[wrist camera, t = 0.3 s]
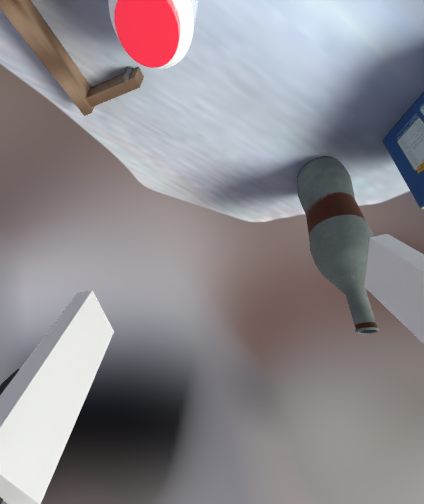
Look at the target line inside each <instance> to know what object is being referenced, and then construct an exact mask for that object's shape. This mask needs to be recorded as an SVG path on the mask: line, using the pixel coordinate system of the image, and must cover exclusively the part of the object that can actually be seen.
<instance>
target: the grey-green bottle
mask: <svg viewBox="0 0 424 504" xmlns="http://www.w3.org/2000/svg"><path fill="white" fill-rule="evenodd" d="M297 186H298V197H299V199H300V202H301V204H302V207H303V209H304V211H305V213H306V217H307V224H308V232H309V241H310V251H311V254H312V256H313V259H314V262H315V264H316V266H317V268H318V269H319V271H320V272H321V274H322V275H323V276H325V277H326V278H327V279H328V280H329V281H330V282H331V283H333V284H334V285H335V286H336V287H337V288H338V289H340V290H341V291H342V292H343V293H344V294H345V295H346V297H347V301H348V304H349V308H350V311H351V314H352V318H353V321H354V324H355V327H356V330H355V331H356V332H357V333H358V334H372V333H376V332H378V330H379V328H378V327H377V325H376V322H375V319H374V316H373V312H372V309H371V306H370V303H369V300H368V296H367V293H366V291H367V289H366V288H365V287H364V286H365V277H366V269H367V260H368V252H369V243H370V237H374V235H373V233H372V231H371V229H370V228H369V225H368V224H367V222H366V220H365V219H364V216H363V214H362V213H361V211H360V209H359V207H358V205H357V203H356V201H355V198H354V192H353V187H352V182H351V178H350V175H349V173H348V172H347V170H346V169H345V167H344V166H343V165H342V164H341V163H340V162H339V161H338V160H337V159H335V158H332V157H321V158H317V159H314V160H312V161H310V162H309V163H307V164H306V165H305V166H304V167H303V168H302V169H301V171H300V173H299V175H298V181H297Z"/></svg>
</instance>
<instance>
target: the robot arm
mask: <svg viewBox="0 0 424 504" xmlns="http://www.w3.org/2000/svg"><path fill="white" fill-rule="evenodd" d="M364 287H365V288H366V289H367V290H369V291H370V292H371V293H372V294H373V295H374V296H375V297H376V298H377V299H378V300H379V301H380V302H381V303H382V304H383V305H384V306H385V307H386V308H387V309H388V310H389V311H390V312H391V313H392V314H393V315H394V316H395V317H396V318H397V319H398V320H400V321H401V322H402V323H403V324H404V325H405V326H406V327H407V328H408V329H409V330H410V331H411V332H412V333H413V334H414V335H415V336H416V337H417V338H418V339H419V340H420V341H421V342H422V343H423V344H424V255H423V254H422V253H420V252H418V251H416V250H415V249H413V248H411V247H409V246H408V245H406V244H404V243H402V242H401V241H399V240H397V239H395V238H394V237H392V236H390V235H388V234H385V235H381V236H375V237H370V243H369V252H368V260H367V269H366V277H365V286H364ZM113 333H114V331H113V329H112V327H111V325H110V323H109V321H108V319H107V317H106V315H105V313H104V312H103V310H102V308H101V306H100V304H99V302H98V300H97V298H96V296H95V294H94V293H93V290H91V291H85V292H80V293H77V294H76V295H75V297H74V298H73V299H72V301H71V302H70V303H69V305H68V306H67V307H66V309H65V310H64V311H63V313H62V314H61V315H60V317H59V318H58V319H57V321H56V322H55V323H54V325H53V326H52V328H51V329H50V330H49V331H48V333H47V334H46V335H45V337H44V338H43V339H42V341H41V342H40V343H39V345H38V346H37V347H36V349H35V350H34V351H33V353H32V354H31V355H30V357H29V358H28V359H27V361H26V362H25V363H24V365H23V366H22V367H21V369H17V370H16V371H15V372H14V373H13V374H12V375H11V376H10V377H9V378H8V379H6V380H5V381H4V382H3V383H2V384H1V386H0V504H1V503H2V501H5V502H6V503H8V504H41V501H42V499H43V497H44V494H45V492H46V490H47V487H48V485H49V483H50V480H51V478H52V476H53V473H54V471H55V469H56V466H57V464H58V461H59V459H60V457H61V455H62V452H63V450H64V448H65V445H66V443H67V441H68V438H69V436H70V434H71V431H72V429H73V426H74V424H75V422H76V419H77V417H78V415H79V412H80V410H81V408H82V405H83V403H84V401H85V398H86V396H87V393H88V391H89V389H90V387H91V384H92V382H93V380H94V377H95V375H96V372H97V370H98V368H99V366H100V363H101V361H102V359H103V356H104V354H105V351H106V349H107V347H108V344H109V342H110V340H111V337H112V335H113Z"/></svg>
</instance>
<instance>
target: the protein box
mask: <svg viewBox="0 0 424 504" xmlns="http://www.w3.org/2000/svg"><path fill="white" fill-rule="evenodd" d="M383 143H384V145H385V146H386V148H387V150H388V152H389V154H390V155H391V157H392V159H393V161H394V162H395V164H396V166H397V168H398V170H399V171H400V173H401V175H402V177H403V178H404V180H405V182H406V184H407V186H408V187H409V189H410V191H411V193H412V194H413V196H414V198H415V200H416V202H417V203H418V205H419V207H420V209H424V93H423V94H422V95H421V96H420V97H419V98H418V100H417V101H416V102H415V103H414V104H413V106H412V107H411V108H410V109H409V110H408V111H407V113H406V114H405V115H404V116H403V117H402V118H401V120H400V121H399V122H398V123H397V124H396V125H395V127H394V128H393V129H392V130H391V131H390V132H389V134H388V135H387V136H386V137H385V138H384V140H383Z"/></svg>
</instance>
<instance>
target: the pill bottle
mask: <svg viewBox="0 0 424 504" xmlns="http://www.w3.org/2000/svg"><path fill="white" fill-rule="evenodd" d="M108 5H109V13H110V19H111V22H112V25H113V28H114V31H115V33H116V35H117V37H118V39H119V41H120V42H121V44H122V46H123V47H124V49H125V51H126V52H127V53H128V54H129V55H130V56H131V57H132V58H133V59H134V60H135V61H136V62H138V63H140V64H141V65H144V66H146V67H150V68H155V69H166V68H169V67H172V66H174V65H175V64H177V63H178V62H179V61H180V60H181V59H182V58H183V57H184V56H185V54H186V53H187V51H188V49H189V47H190V44H191V41H192V37H193V32H194V27H195V21H196V15H197V10H198V0H108Z"/></svg>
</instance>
